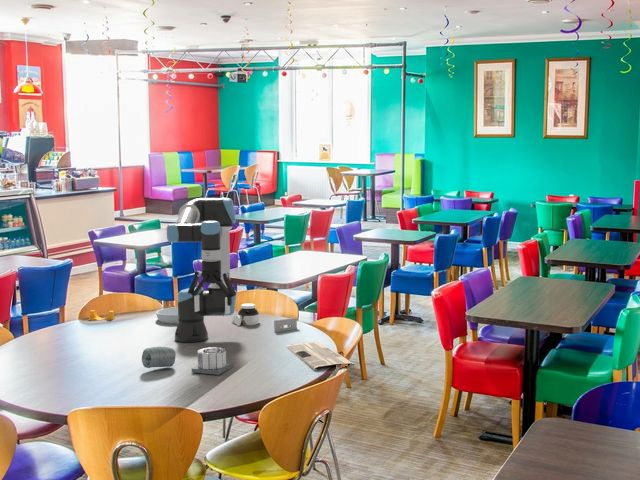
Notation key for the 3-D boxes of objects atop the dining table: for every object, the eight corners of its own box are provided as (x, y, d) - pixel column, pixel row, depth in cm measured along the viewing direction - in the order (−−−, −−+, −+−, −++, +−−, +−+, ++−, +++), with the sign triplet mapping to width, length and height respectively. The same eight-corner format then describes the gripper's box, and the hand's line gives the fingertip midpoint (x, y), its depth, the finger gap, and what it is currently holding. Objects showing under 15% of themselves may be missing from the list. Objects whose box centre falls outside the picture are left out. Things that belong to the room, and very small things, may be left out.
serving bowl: (178, 317, 402) (177, 304, 401) (206, 322, 390) (206, 309, 389) (147, 325, 385) (147, 311, 384) (176, 330, 373) (176, 316, 372)
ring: (193, 367, 302) (192, 353, 301) (205, 360, 312) (205, 346, 312) (218, 370, 298) (218, 355, 298) (230, 362, 309) (230, 348, 308)
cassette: (295, 332, 368) (295, 317, 367) (297, 333, 366) (297, 317, 365) (273, 336, 361) (273, 320, 361) (275, 336, 360) (275, 320, 359)
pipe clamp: (88, 324, 388) (88, 311, 387) (92, 322, 392) (92, 310, 391) (111, 325, 386) (110, 312, 385) (114, 323, 390) (114, 310, 390)
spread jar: (261, 327, 379) (261, 304, 378) (247, 332, 369) (246, 308, 368) (242, 324, 385) (241, 302, 384) (228, 329, 376) (227, 305, 374)
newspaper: (285, 350, 336) (285, 344, 336) (326, 346, 343) (326, 340, 343) (314, 373, 302) (314, 366, 302) (359, 368, 309) (359, 361, 309)
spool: (142, 368, 298) (151, 344, 299) (135, 362, 306) (143, 339, 307) (174, 376, 305) (182, 352, 306) (165, 370, 313) (173, 347, 314)
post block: (191, 372, 302) (191, 353, 301) (205, 364, 313) (205, 346, 312) (219, 375, 298) (218, 356, 297) (232, 366, 309) (231, 348, 308)
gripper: (178, 259, 304) (180, 312, 306) (235, 262, 296) (236, 316, 298) (187, 257, 311) (189, 308, 313) (243, 260, 303) (244, 312, 305)
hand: (212, 312), depth 306 cm, fingers open, 13 cm apart
